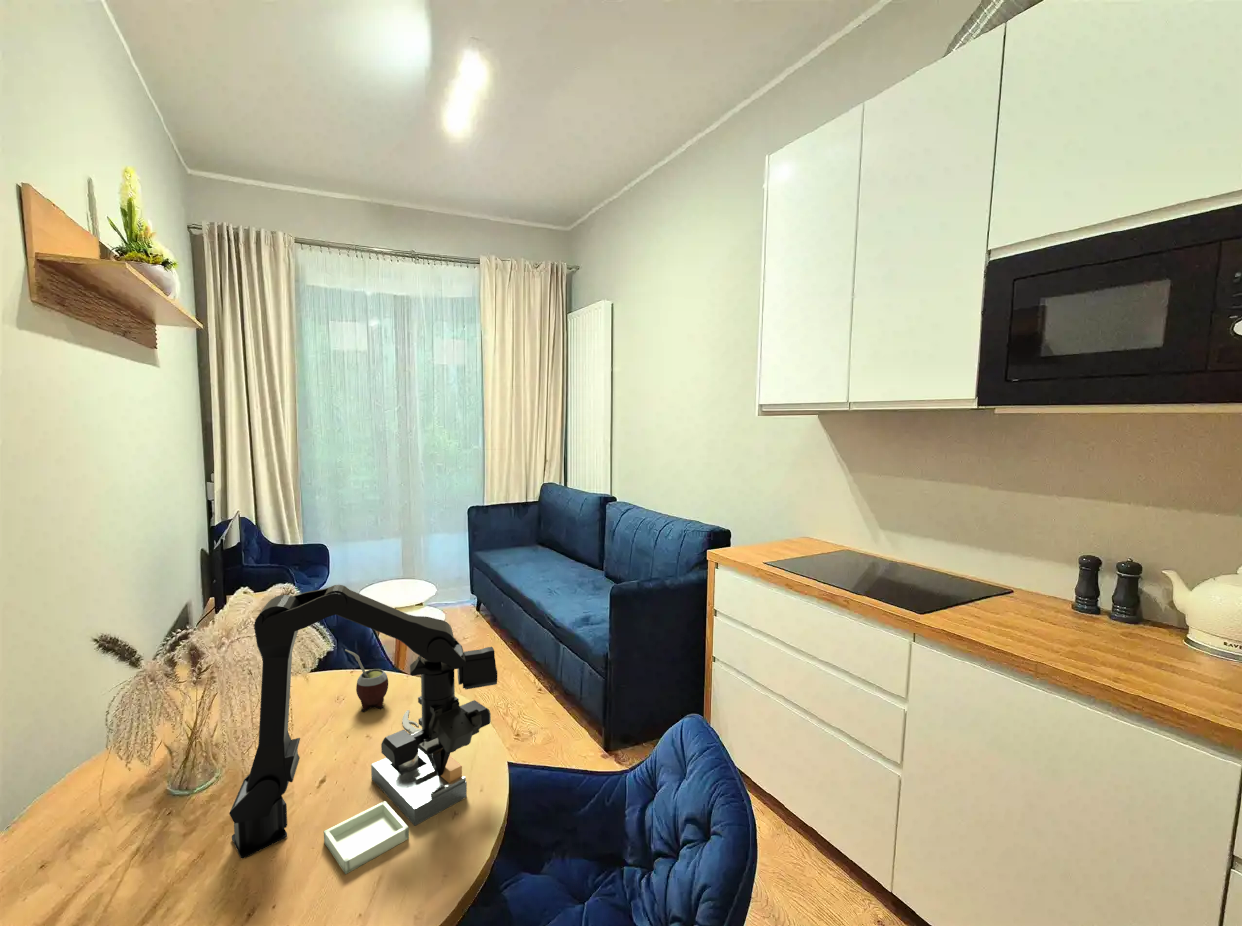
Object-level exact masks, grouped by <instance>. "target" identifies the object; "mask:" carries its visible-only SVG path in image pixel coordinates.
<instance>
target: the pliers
mask: <svg viewBox="0 0 1242 926" xmlns="http://www.w3.org/2000/svg"><path fill="white" fill-rule="evenodd" d="M409 714H410V709H407V710H406V711H405V712H404V714H403V715H402V727H403V729H404V730H405V731H406V732H408V733H409V734H410V735H412V734H414V733H416V732H419V731H421V730H422V728H419V726H420V725H419V723H418V722H416V721H414V720H409ZM412 724H413V725H412ZM414 725H415V726H416V727H415V726H414Z"/></svg>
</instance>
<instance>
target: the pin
mask: <svg viewBox="0 0 1242 926" xmlns="http://www.w3.org/2000/svg"><path fill="white" fill-rule="evenodd" d="M418 749H419V748H418ZM417 768H418V754H417V755H416V757H415V758H414V759H413V760H410V761H408V762H406V763H404V764H402V765H400V766H399V774H400V775H401V776H403V775H405V774H407V773H409V772H411V771H413V770H415V769H417Z"/></svg>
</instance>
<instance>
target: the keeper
mask: <svg viewBox="0 0 1242 926" xmlns="http://www.w3.org/2000/svg"><path fill="white" fill-rule="evenodd" d="M441 777H442V778H444V779H445V780H446V781H447V782H448V783H451V782H453V781H455V780H457V779H459V778H461V777H463V765H462V764H461V763H459V762H458V761H457V760H456V758H454V757H453V756H451V754H450V755H449V758H448V761H447V764H446V767H445V770H444V772H443V775H441Z"/></svg>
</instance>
